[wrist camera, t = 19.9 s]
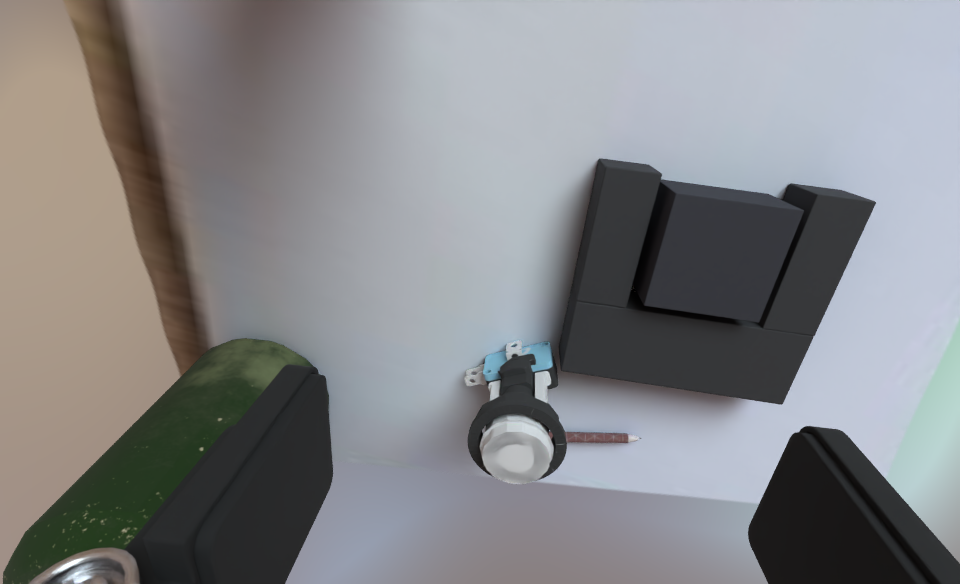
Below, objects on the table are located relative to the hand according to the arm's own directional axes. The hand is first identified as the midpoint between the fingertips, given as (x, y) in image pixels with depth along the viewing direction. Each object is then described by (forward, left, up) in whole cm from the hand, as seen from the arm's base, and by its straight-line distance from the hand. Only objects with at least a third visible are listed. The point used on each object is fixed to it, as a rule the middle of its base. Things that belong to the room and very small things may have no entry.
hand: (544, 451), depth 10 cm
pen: (+17, +5, -22) cm, 28 cm away
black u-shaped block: (+3, +10, -22) cm, 24 cm away
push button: (+11, 0, -22) cm, 25 cm away
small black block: (+1, +10, -22) cm, 24 cm away
